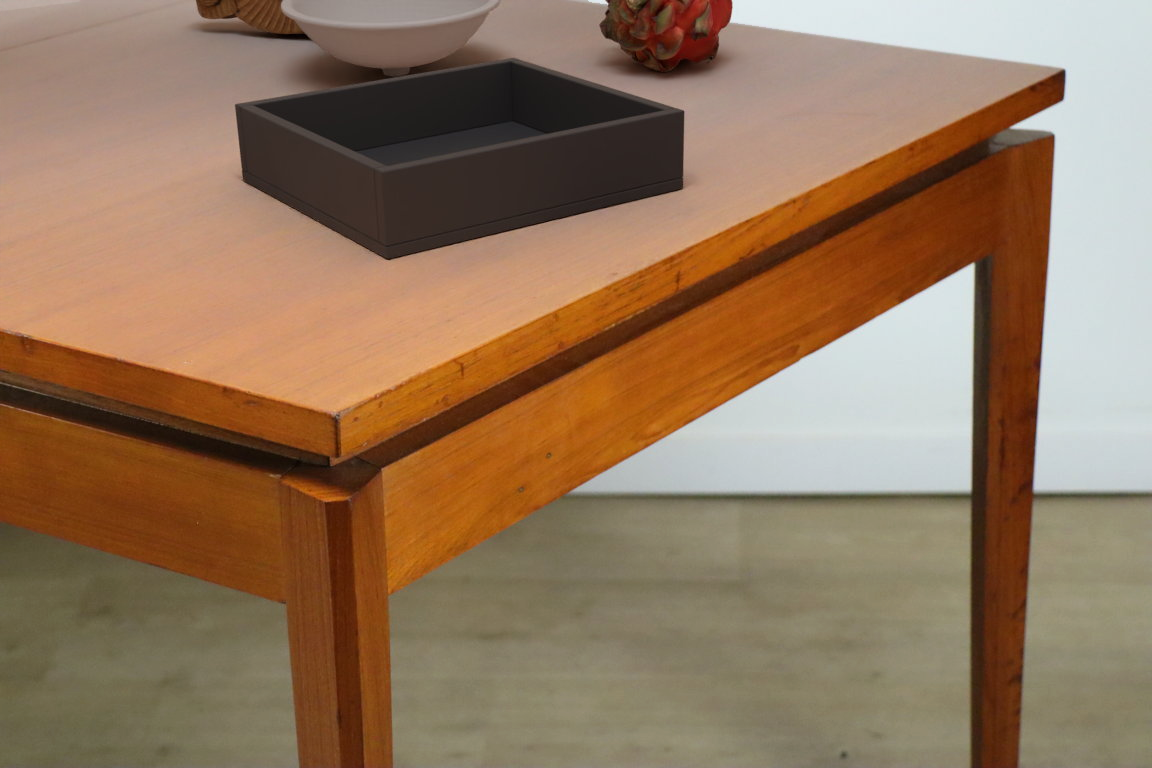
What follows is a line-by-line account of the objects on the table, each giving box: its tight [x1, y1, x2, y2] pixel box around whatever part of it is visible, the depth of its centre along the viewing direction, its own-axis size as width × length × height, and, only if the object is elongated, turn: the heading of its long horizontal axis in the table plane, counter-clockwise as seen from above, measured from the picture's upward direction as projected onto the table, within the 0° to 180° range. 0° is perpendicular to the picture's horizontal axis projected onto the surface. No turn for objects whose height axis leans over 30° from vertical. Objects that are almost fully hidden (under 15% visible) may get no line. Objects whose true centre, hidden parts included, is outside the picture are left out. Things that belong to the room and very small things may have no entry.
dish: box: [281, 0, 501, 77], centre depth 101 cm, size 18×14×5 cm
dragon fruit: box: [599, 0, 734, 73], centre depth 102 cm, size 8×8×12 cm
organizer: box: [234, 57, 685, 260], centre depth 78 cm, size 15×17×4 cm
